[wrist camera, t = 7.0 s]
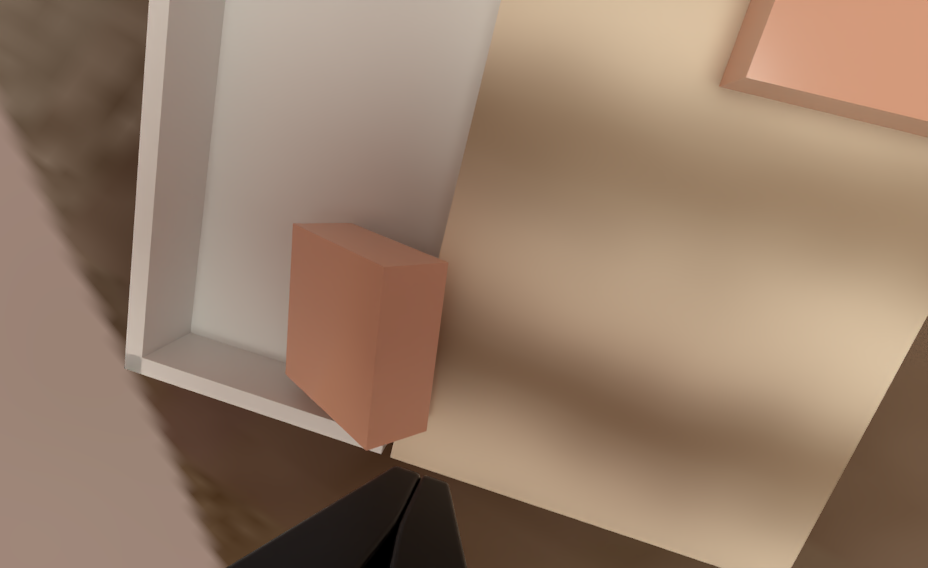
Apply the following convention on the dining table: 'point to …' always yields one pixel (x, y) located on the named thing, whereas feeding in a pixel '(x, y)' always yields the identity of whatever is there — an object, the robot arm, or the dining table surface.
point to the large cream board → (667, 284)
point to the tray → (284, 169)
